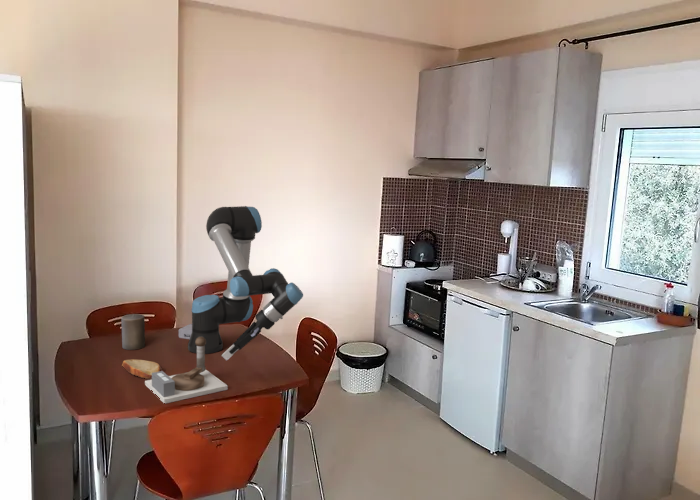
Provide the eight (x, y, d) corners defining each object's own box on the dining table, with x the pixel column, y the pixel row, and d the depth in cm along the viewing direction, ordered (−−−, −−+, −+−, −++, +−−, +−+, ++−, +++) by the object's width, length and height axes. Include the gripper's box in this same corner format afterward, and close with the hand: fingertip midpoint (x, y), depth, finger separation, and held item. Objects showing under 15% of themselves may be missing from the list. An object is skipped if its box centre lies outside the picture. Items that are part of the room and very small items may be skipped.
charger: (212, 331, 292) (195, 340, 278) (195, 329, 295) (178, 338, 281) (212, 322, 292) (195, 330, 278) (195, 320, 294) (178, 328, 280)
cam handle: (193, 392, 215) (193, 350, 213) (164, 387, 219) (163, 346, 216) (217, 376, 231) (217, 337, 229) (189, 371, 235) (189, 333, 232)
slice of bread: (124, 363, 247) (124, 354, 246) (168, 364, 248) (168, 355, 247) (109, 379, 229) (109, 370, 228) (157, 380, 230) (157, 371, 230)
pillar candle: (149, 346, 267) (149, 313, 265) (131, 351, 259) (130, 318, 257) (135, 341, 273) (134, 309, 270) (117, 347, 264) (116, 314, 262)
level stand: (145, 384, 225) (144, 367, 224) (205, 372, 239) (205, 356, 238) (164, 403, 209) (164, 385, 208) (227, 389, 224) (227, 372, 222)
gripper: (275, 327, 224) (229, 370, 225) (276, 318, 237) (232, 358, 238) (261, 313, 222) (215, 356, 223) (262, 304, 235) (219, 345, 236)
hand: (224, 357), depth 230 cm, fingers closed
